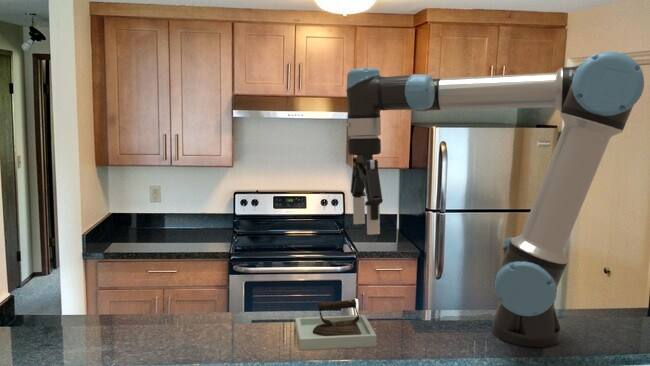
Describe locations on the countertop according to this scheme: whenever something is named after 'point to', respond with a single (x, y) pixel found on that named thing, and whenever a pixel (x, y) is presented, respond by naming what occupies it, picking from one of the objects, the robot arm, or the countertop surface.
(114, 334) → the countertop surface
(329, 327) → the clothes iron
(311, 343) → the iron rest
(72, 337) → the countertop surface
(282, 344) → the countertop surface
